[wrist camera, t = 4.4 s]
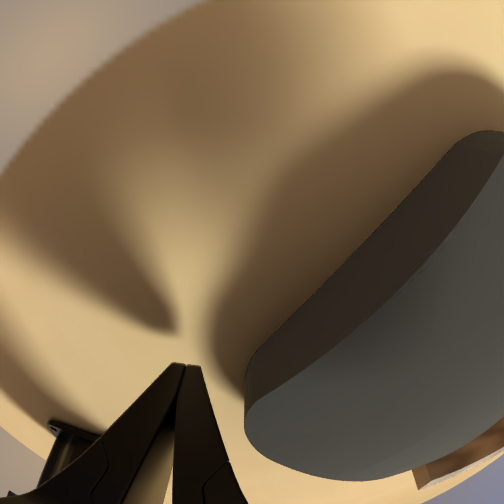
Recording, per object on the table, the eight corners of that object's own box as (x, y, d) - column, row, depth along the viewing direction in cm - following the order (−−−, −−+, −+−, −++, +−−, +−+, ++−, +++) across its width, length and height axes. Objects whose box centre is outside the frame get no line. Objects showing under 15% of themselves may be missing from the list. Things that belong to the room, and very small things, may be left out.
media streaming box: (486, 81, 5) (553, 83, 3) (558, 302, 9) (584, 328, 6) (202, 383, 10) (191, 450, 7) (393, 453, 14) (404, 488, 11)
